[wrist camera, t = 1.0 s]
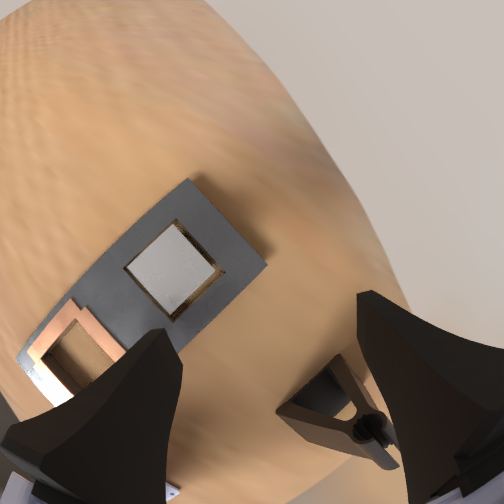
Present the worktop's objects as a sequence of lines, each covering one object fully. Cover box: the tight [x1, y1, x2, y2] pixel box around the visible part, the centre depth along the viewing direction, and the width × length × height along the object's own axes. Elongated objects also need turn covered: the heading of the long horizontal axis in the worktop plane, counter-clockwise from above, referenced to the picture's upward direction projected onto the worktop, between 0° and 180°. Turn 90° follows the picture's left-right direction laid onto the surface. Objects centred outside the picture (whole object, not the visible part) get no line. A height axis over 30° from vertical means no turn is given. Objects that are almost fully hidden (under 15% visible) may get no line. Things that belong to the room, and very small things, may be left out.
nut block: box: [127, 224, 216, 314], centre depth 20 cm, size 4×4×7 cm
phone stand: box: [276, 354, 400, 470], centre depth 20 cm, size 9×6×12 cm, turn 130°
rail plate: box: [15, 178, 268, 407], centre depth 21 cm, size 24×10×2 cm, turn 135°
